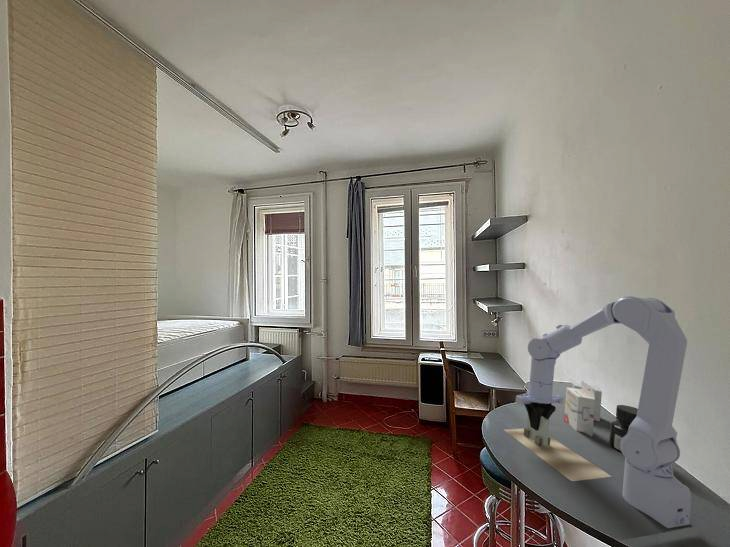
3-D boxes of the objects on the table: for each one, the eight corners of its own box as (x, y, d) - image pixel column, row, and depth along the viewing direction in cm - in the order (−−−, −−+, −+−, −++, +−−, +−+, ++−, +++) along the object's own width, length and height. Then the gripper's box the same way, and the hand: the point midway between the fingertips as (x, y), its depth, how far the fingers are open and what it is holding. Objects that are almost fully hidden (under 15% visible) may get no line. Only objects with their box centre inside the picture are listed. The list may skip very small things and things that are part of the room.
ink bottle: (615, 456, 81) (618, 412, 81) (601, 440, 89) (604, 400, 89) (660, 466, 77) (664, 421, 77) (642, 449, 86) (645, 408, 86)
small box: (597, 416, 106) (600, 387, 106) (600, 422, 101) (602, 391, 101) (570, 409, 110) (573, 381, 110) (571, 414, 106) (574, 385, 106)
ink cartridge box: (562, 421, 100) (566, 377, 100) (579, 423, 99) (582, 380, 99) (575, 434, 91) (579, 386, 91) (593, 437, 90) (597, 389, 90)
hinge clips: (550, 445, 82) (550, 437, 82) (539, 445, 81) (539, 438, 81) (534, 434, 87) (534, 427, 87) (523, 434, 86) (524, 428, 86)
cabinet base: (611, 480, 70) (612, 476, 70) (571, 485, 67) (571, 481, 67) (536, 431, 91) (536, 427, 91) (503, 433, 88) (503, 429, 88)
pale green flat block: (547, 445, 81) (549, 420, 81) (543, 446, 81) (545, 420, 81) (530, 434, 87) (532, 410, 87) (526, 434, 86) (528, 410, 86)
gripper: (549, 375, 89) (546, 420, 89) (509, 375, 86) (505, 422, 86) (571, 384, 83) (567, 432, 83) (528, 385, 79) (524, 435, 79)
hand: (537, 428), depth 84 cm, fingers closed on pale green flat block
